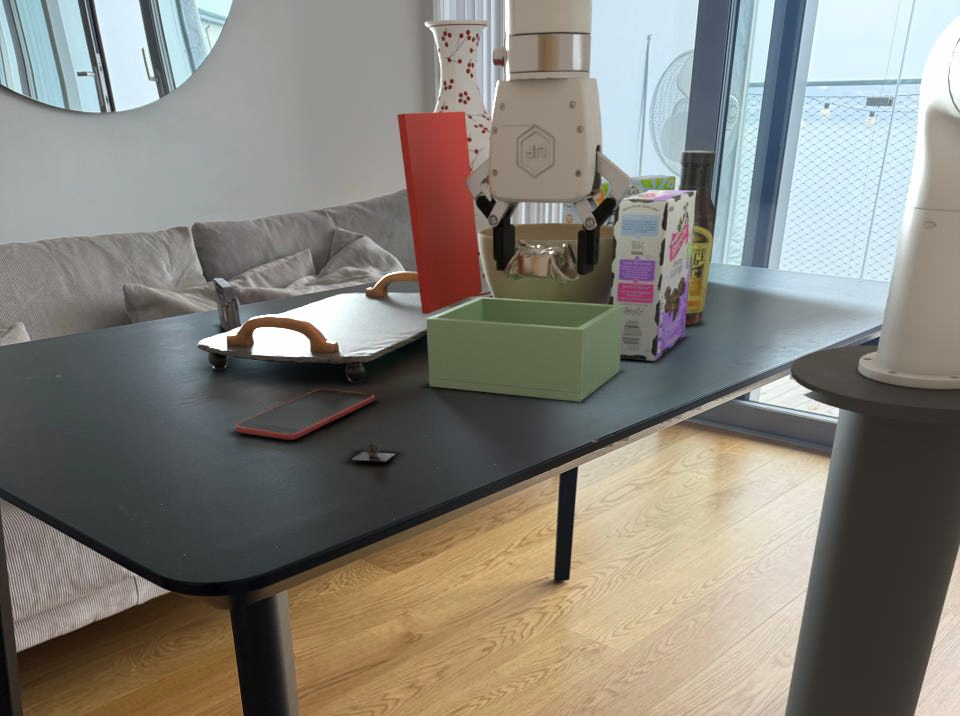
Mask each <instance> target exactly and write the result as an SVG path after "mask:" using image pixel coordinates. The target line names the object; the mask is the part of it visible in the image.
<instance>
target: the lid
mask: <svg viewBox="0 0 960 716" xmlns="http://www.w3.org/2000/svg"><path fill="white" fill-rule="evenodd" d="M396 117H397V123H398V131H399V139H400V147H401V148H400V149H401V155H402V163H403V170H404V178H405V187H406V194H407V202H408V210H409V219H410V225H411V233H412V235H411V236H412V241H413V250H414V257H415V265H416V266H415V267H416V272H417V274H418V282H417V283H418V287H419V288H418V289H419V293H420V298H421V306H422V313H423V314H429V313H432V312H434V311H437V310H439V309H442V308H444V307H447V306H449V305H452V304H454V303H457V302H459V301H462V300H464V299H467V298H469V297H472V296H474V295H477V294H479V293H481V292H482V286H481V276H480V265H479V255H478V244H477V234H476V223H475V213H474V203H473V197H472V195H471V194H470V192H469V190H468V188H467V187H466V185H465V179H466V178H467V177H468V176H469V175H470V174H471V171H470V161H469V150H468V140H467V129H466V119H465V112H437V113H433V112H412V113H410V112H409V113H407V112H406V113H399V114H397V116H396Z"/></svg>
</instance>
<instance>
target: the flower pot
mask: <svg viewBox="0 0 960 716" xmlns="http://www.w3.org/2000/svg"><path fill="white" fill-rule="evenodd" d="M514 226H515V253H516V252H517V251H516V247H518V246H520V244H519V242H520V240H523V241H525V242H526V243H527V244H530V245H532V247H533V246H539V245H541V246H544V249H545V248H548V247H552V246H557V247H563V244H565V243H569V244H571V245H572V247H573V249H574V252H575V255H576V258H577V250H578V232H579V231H580V230H582V229H583V224H578V223H562V222H538V223H536V222H535V223H519V224H514ZM613 233H614V226H608V225H603V226H601V227H600V242H599V260H598V263H597V264H596V265H594V270H593V271H592V272H590V273H588V274H586V275H580V276H579V278H578V279H577V281H575V282H573V283H566V284H560V283H557V282H556V281H554V280H553V279H552V277H551V275H550V278H530V277H524V278H522V279H519V280H514V279H513V278H512V277H511V276H509V277H508V278H506V277H505V276H504V273H503V272H504V271H497V268H496V260H494V258H493V227H490V228H486V229H482V230H480V231H478V242H479V250H480V256H481V261H482V266H483V270H484V274H485V277H486V281H487V284H488V286H489V289H490V291H491V294H492V295H491V296H492V298H506V299H523V300H540V301H556V302H573V303H590V304H607V305H608V303H609V302H610V290H611V273H612V252H613Z"/></svg>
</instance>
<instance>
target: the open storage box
mask: <svg viewBox="0 0 960 716" xmlns="http://www.w3.org/2000/svg"><path fill="white" fill-rule="evenodd" d="M622 317H623V305H607V304H590V303H573V302H556V301H540V300H523V299H506V298H493V297H478V298H476V299H473V300H471V301H468V302H466V303H463V304H461V305H459V306H456V307H454V308H451V309H449V310H446V311H444V312H441V313H439V314H437V315H434V316H432V317H429V318H427V319H426V322H427V335H426V338H427V339H426V341H427V359H428V360H427V361H428V378H429V381H428V382H429V387H430V388H431V387H434V388H441V389H442V388H443V389H452V390H462V391H471V392H480V393H481V392H482V393H490V394H500V395H501V394H502V395H510V396H519V397H527V398H539V399H547V400H548V399H549V400H558V401H567V402H569V401H570V402H578V403H580V402H582V401H584V399H586V398H587V397H588V396H590V395H591V394H592V393H594V392H595V391H597V389H598V388H600V387H601V386H602V385H604V384H605V383H606V382H608V381H609V380H610V379H612V378H613V377H614V376H616V375H617V374H618V373H619V372H620V371H621V370H620V369H621V358H620V354H621V336H622Z"/></svg>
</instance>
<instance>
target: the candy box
mask: <svg viewBox="0 0 960 716" xmlns="http://www.w3.org/2000/svg"><path fill="white" fill-rule="evenodd" d="M695 202H696V191H678V189H677V190H676V189H675V190H648V191H647V192H645V193H641V194H638V195H634V196H631V197H627V198H624V199H623V200H622V201H621V203H620V204H619V207H618V209H617V210H616V211H615V213H614V233H613V252H612V273H611V290H610V305H623V317H622V336H621V354H620V359H627V360H637V361H647V362H655V361H657V360H659V359H660V358H661V356H663V355H664V354H666V352H667V351H669V350H670V349H672V348H673V347H674V346H675V345H676V344H677V343H678V342H679V341H681V340H682V339H683V338H685V333H686V326H685V323H686V311H687V300H688V287H689V275H690V263H691V251H692V239H693V227H694V214H695Z"/></svg>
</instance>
